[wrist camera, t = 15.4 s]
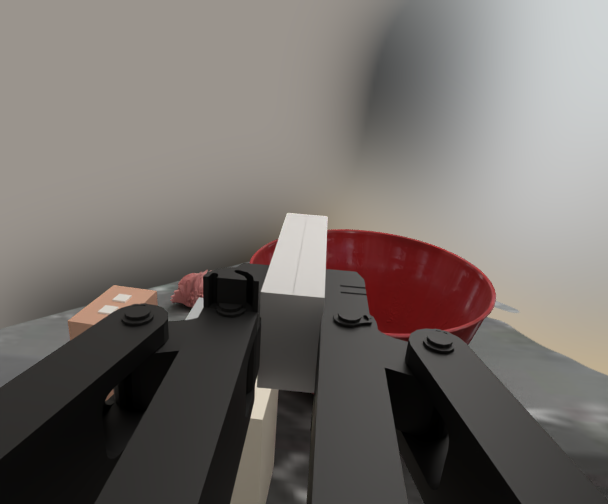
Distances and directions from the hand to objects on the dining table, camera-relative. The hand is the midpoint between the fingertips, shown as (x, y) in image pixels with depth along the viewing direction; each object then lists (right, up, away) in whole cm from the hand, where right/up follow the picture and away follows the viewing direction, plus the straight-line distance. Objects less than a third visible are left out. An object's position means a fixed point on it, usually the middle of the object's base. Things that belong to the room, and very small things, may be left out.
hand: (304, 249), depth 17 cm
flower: (-18, -9, +56) cm, 60 cm away
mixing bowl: (+7, -16, +42) cm, 46 cm away
